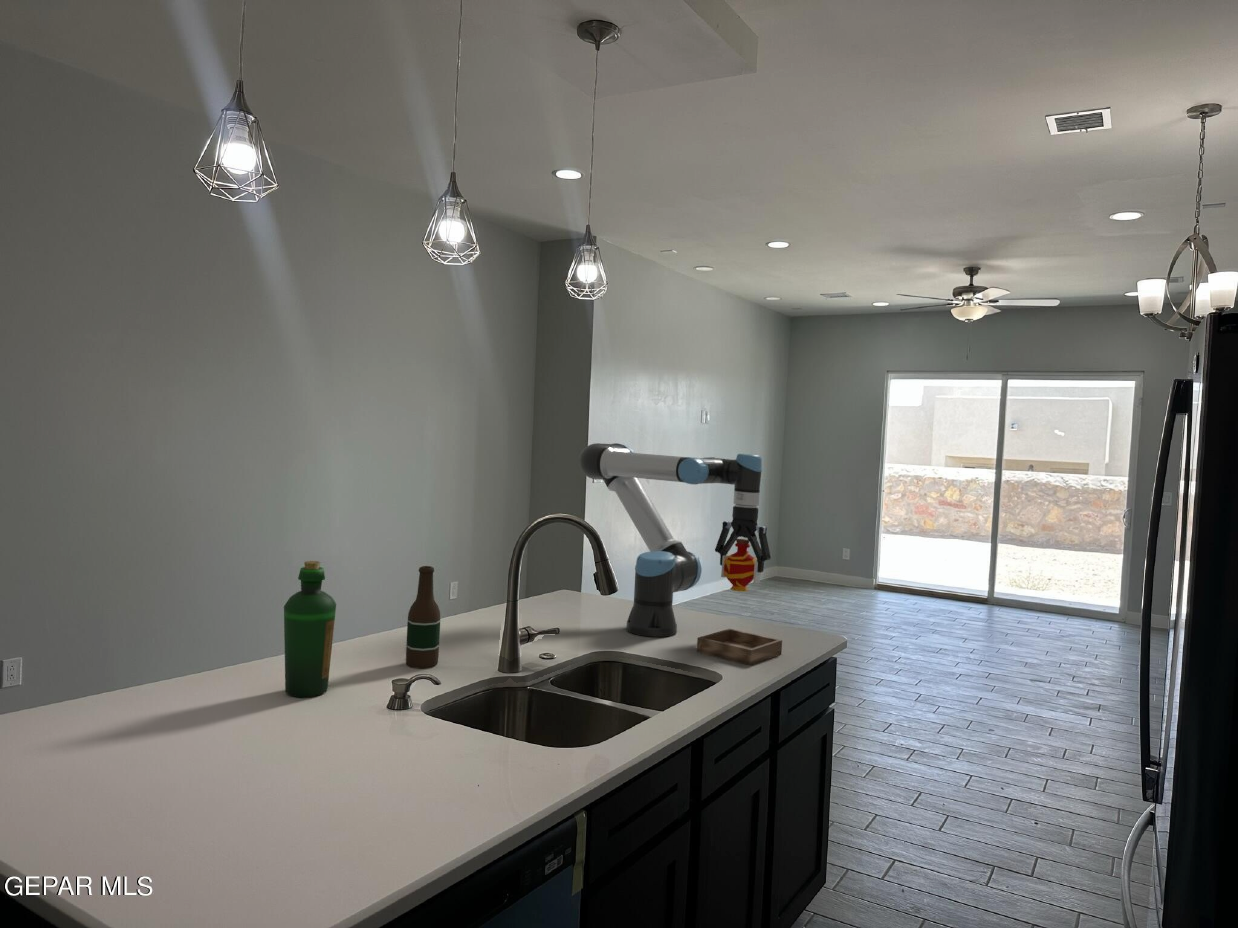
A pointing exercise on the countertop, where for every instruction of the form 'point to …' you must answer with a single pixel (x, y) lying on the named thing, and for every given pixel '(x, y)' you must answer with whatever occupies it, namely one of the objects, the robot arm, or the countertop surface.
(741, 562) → the potion bottle
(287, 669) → the bottle
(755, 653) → the walnut tray
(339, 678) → the countertop surface
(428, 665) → the beer bottle
